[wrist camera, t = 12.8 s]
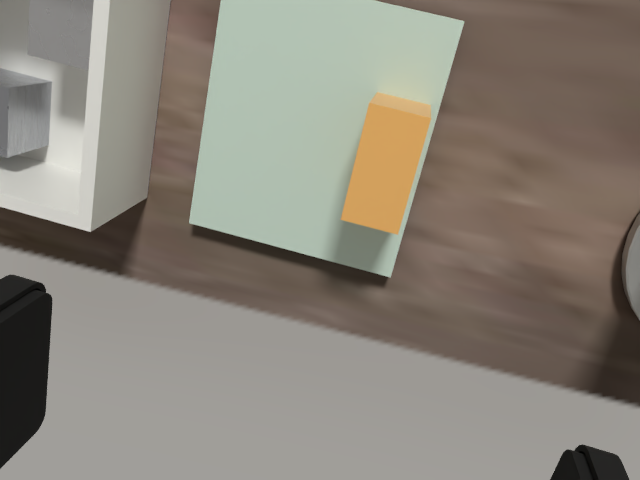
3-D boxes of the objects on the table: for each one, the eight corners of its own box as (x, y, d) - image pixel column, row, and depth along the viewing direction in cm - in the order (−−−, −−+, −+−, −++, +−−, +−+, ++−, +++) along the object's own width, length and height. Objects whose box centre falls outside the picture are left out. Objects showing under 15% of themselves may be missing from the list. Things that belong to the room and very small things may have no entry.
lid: (462, 21, 32) (471, 20, 26) (391, 267, 38) (385, 314, 31) (234, -32, 33) (191, -45, 27) (198, 215, 39) (155, 250, 33)
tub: (174, -35, 33) (114, -50, 27) (147, 197, 38) (90, 232, 32) (-21, -82, 34) (-125, -107, 28) (-23, 151, 39) (-111, 175, 33)
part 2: (139, -4, 33) (104, -8, 30) (132, 68, 35) (97, 72, 31) (73, -20, 34) (30, -26, 30) (69, 51, 35) (27, 54, 31)
